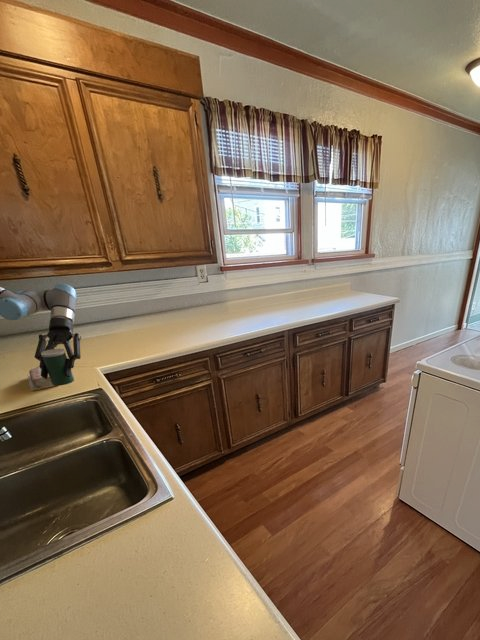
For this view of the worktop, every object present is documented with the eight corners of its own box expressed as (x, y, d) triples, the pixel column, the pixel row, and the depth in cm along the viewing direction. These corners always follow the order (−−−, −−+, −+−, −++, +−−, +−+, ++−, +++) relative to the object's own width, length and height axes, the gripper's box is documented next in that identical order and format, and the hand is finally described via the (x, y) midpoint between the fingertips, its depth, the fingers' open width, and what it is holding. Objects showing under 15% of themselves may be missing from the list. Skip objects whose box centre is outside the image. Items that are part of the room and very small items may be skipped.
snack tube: (48, 386, 120) (36, 355, 115) (57, 378, 126) (46, 349, 121) (69, 385, 121) (59, 354, 116) (77, 377, 128) (68, 348, 122)
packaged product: (57, 374, 130) (26, 380, 124) (61, 385, 132) (31, 392, 126) (52, 362, 142) (23, 367, 136) (56, 372, 144) (28, 378, 138)
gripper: (94, 326, 131) (90, 378, 124) (39, 327, 128) (31, 381, 121) (85, 315, 124) (80, 370, 117) (26, 317, 121) (18, 374, 114)
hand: (55, 376), depth 119 cm, fingers closed on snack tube, 7 cm apart
